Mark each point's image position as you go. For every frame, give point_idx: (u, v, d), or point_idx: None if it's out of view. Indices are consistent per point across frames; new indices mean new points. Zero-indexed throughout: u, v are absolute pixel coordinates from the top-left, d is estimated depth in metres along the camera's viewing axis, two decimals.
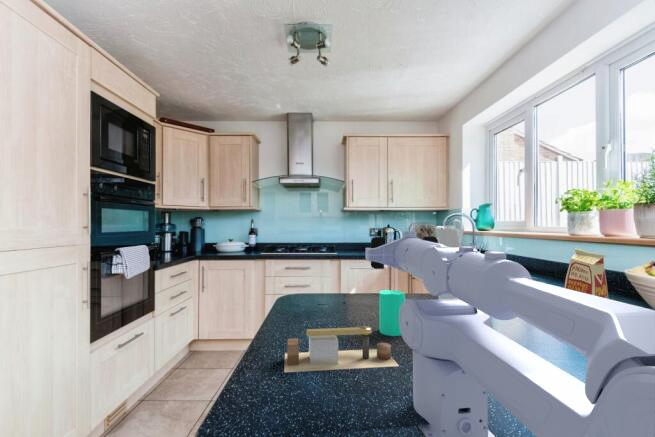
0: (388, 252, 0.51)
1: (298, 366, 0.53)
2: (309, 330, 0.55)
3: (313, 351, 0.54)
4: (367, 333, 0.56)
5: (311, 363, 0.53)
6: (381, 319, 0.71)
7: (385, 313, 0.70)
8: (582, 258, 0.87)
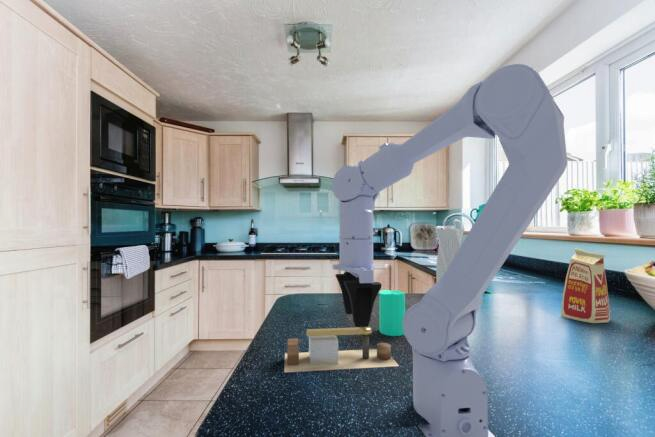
0: None
1: (298, 366, 0.53)
2: (309, 330, 0.55)
3: (313, 351, 0.54)
4: (367, 333, 0.56)
5: (311, 363, 0.53)
6: (381, 319, 0.71)
7: (385, 313, 0.70)
8: (582, 258, 0.87)
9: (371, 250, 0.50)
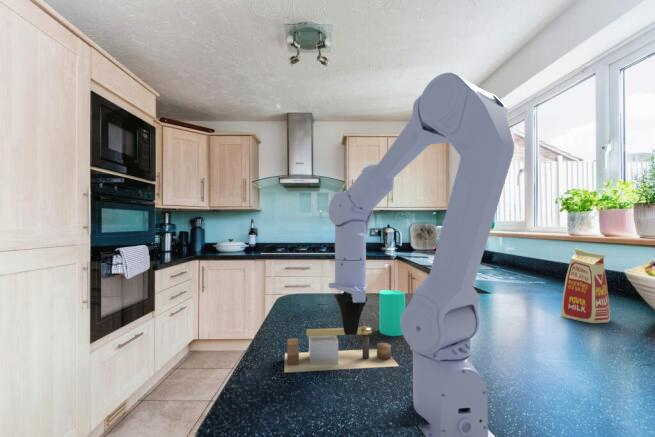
0: None
1: (298, 366, 0.53)
2: (309, 330, 0.56)
3: (313, 351, 0.54)
4: (367, 333, 0.56)
5: (311, 363, 0.53)
6: (381, 319, 0.71)
7: (385, 313, 0.70)
8: (582, 258, 0.87)
9: (364, 270, 0.55)
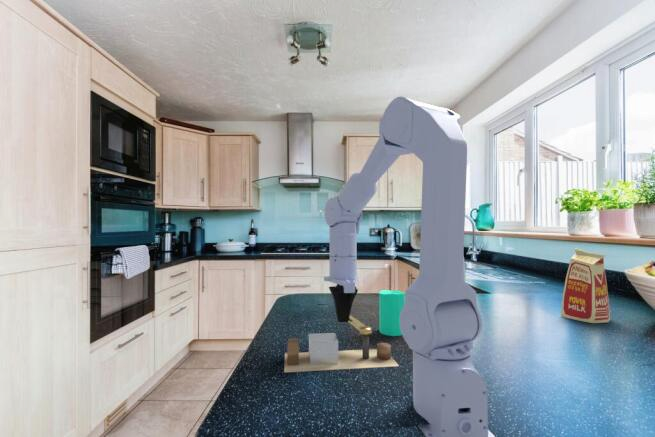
0: (344, 281, 0.60)
1: (298, 366, 0.53)
2: None
3: (313, 351, 0.54)
4: (360, 332, 0.56)
5: (311, 363, 0.53)
6: (381, 319, 0.71)
7: (385, 313, 0.70)
8: (582, 258, 0.87)
9: (355, 265, 0.62)
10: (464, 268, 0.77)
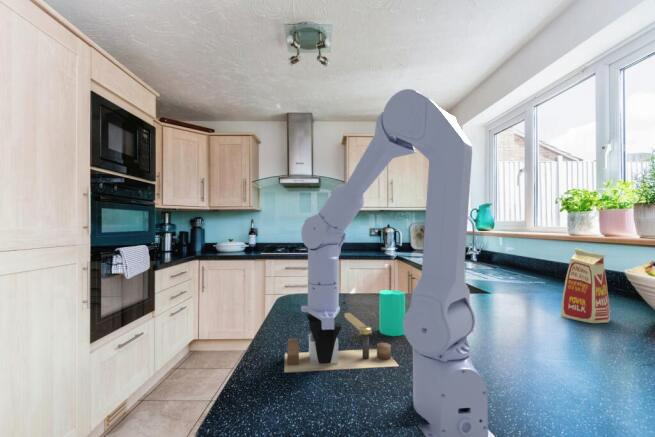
0: None
1: (298, 366, 0.53)
2: (347, 313, 0.67)
3: (313, 351, 0.54)
4: (360, 332, 0.57)
5: (311, 363, 0.53)
6: (381, 319, 0.71)
7: (385, 313, 0.70)
8: (582, 258, 0.87)
9: (336, 294, 0.55)
10: (464, 268, 0.77)
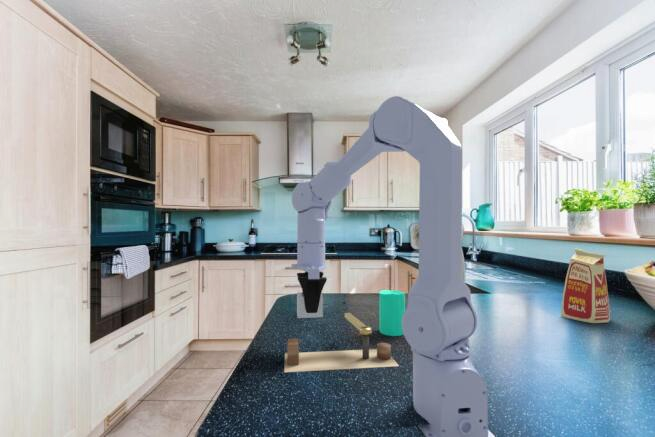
0: None
1: (298, 366, 0.53)
2: (347, 313, 0.67)
3: (300, 305, 0.60)
4: (360, 332, 0.57)
5: (298, 316, 0.60)
6: (381, 319, 0.71)
7: (385, 313, 0.70)
8: (582, 258, 0.87)
9: (322, 252, 0.61)
10: (464, 268, 0.77)
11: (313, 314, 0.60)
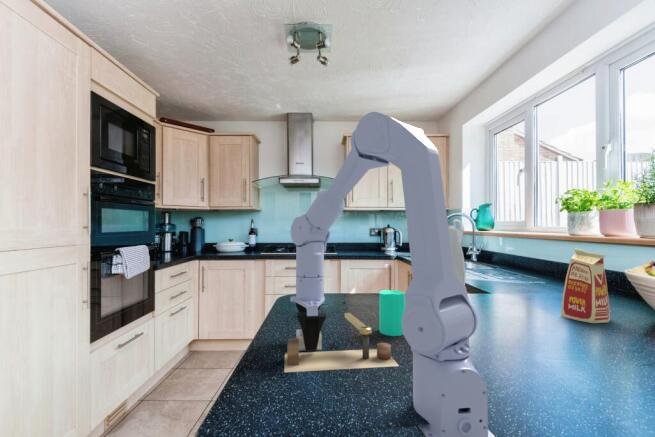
0: None
1: (298, 366, 0.53)
2: (347, 313, 0.67)
3: (299, 345, 0.60)
4: (360, 332, 0.57)
5: None
6: (381, 319, 0.71)
7: (385, 313, 0.70)
8: (582, 258, 0.87)
9: (321, 286, 0.61)
10: (464, 268, 0.77)
11: None
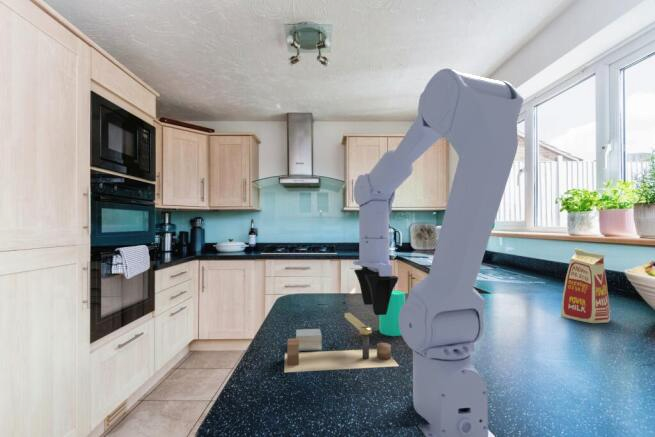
0: None
1: (298, 366, 0.53)
2: (347, 313, 0.67)
3: (299, 345, 0.60)
4: (360, 332, 0.57)
5: None
6: (381, 319, 0.71)
7: None
8: (582, 258, 0.87)
9: (388, 248, 0.57)
10: None
11: None
